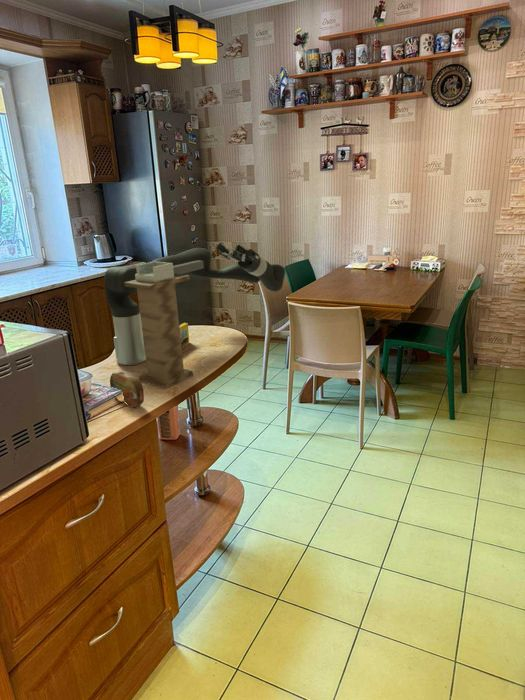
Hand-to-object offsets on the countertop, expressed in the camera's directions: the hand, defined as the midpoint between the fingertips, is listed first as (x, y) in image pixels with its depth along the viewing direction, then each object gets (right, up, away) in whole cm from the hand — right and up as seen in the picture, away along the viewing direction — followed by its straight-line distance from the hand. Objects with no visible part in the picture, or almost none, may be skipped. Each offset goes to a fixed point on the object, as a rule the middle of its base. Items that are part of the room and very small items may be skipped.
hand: (226, 246), depth 170 cm
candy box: (-19, -36, +14) cm, 43 cm away
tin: (-26, -51, -27) cm, 64 cm away
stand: (-18, -45, -12) cm, 50 cm away
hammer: (-15, -12, -17) cm, 25 cm away
